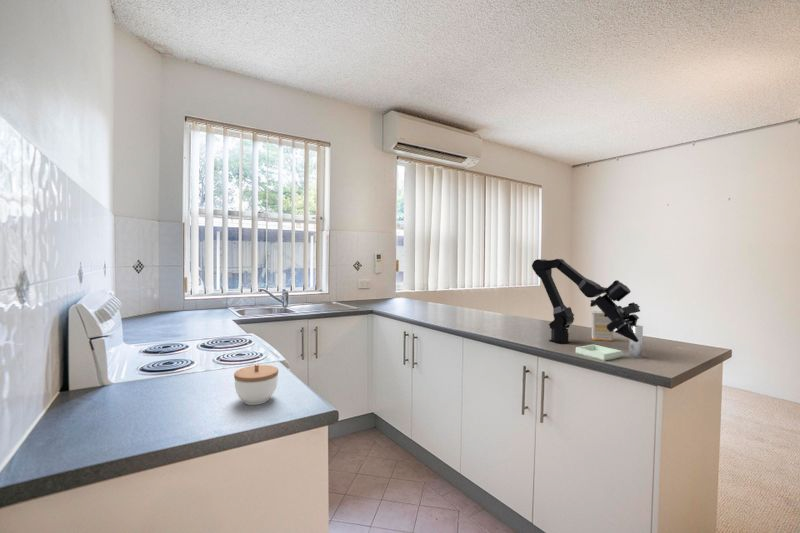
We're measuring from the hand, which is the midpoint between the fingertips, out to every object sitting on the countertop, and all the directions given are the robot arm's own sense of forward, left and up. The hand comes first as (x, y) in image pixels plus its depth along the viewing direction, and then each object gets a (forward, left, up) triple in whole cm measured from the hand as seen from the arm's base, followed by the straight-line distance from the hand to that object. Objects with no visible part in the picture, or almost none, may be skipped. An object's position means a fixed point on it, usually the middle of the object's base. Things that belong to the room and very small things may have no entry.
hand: (639, 340), depth 141 cm
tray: (-9, -12, -7) cm, 16 cm away
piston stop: (-1, 0, -7) cm, 7 cm away
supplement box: (-25, +16, -7) cm, 30 cm away
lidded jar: (-23, -136, -7) cm, 138 cm away
